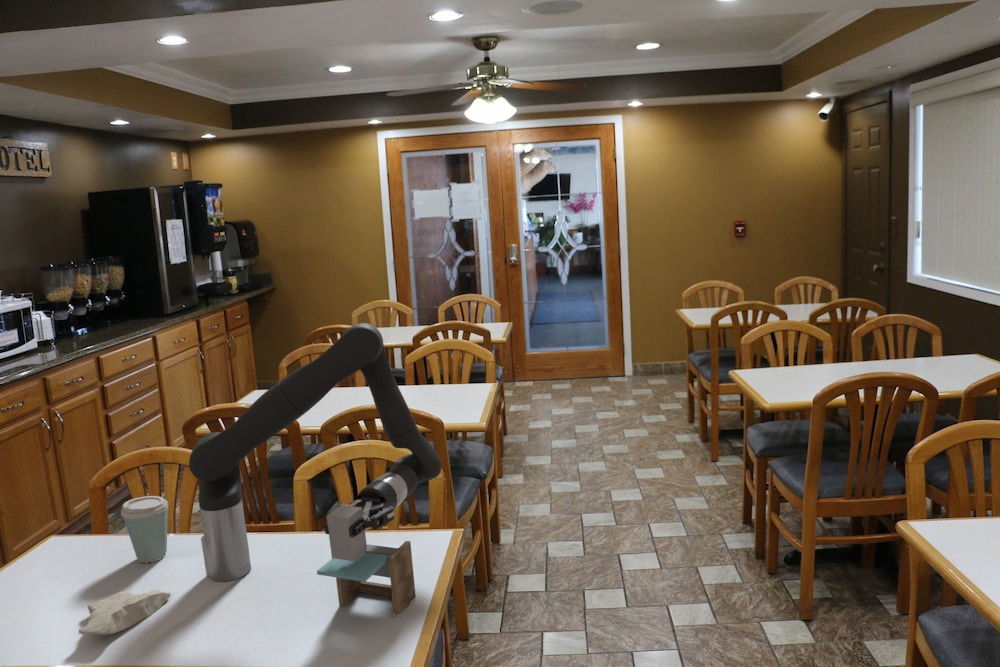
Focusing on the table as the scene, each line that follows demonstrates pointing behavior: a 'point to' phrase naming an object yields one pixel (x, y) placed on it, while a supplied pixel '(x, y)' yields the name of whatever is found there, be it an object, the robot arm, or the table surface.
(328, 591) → the table surface
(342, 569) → the trapdoor flap
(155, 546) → the disposable coffee cup
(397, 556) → the flap stand
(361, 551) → the granite pillar
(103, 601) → the rock
